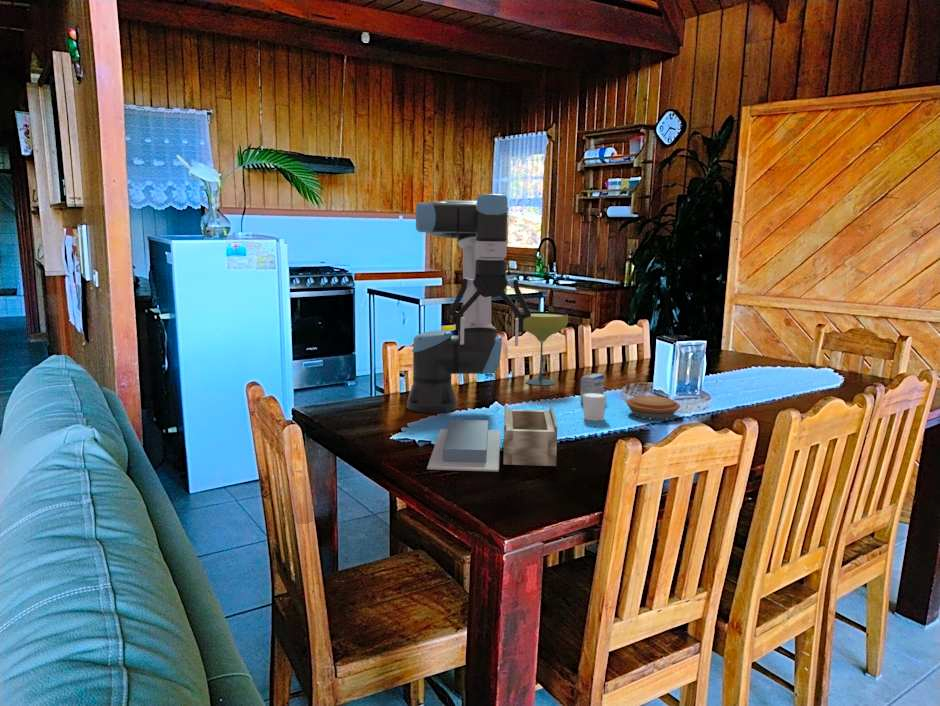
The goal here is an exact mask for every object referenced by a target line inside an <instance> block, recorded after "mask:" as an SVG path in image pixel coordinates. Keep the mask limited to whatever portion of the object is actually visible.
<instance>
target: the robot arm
mask: <svg viewBox="0 0 940 706" xmlns="http://www.w3.org/2000/svg"><path fill="white" fill-rule="evenodd" d="M508 212H509V206H508V197H507V194H506V195H505V194H499V193H482V194H479V195H478V196H477V198H476V200H463V199H461V200H458V199H457V200H456V199H454V200H452V199H445V200H438V201H434V202H432V201H426V202H417V204H416V205H415V231H417V232H419V233H427V234H429V235H430V236H435V237H438V238H443V239H444V238H445V239H457V245H458V246H459V247H460V249H462V282H461V283H462V284H461V288H460V289H459V292H458V293H457V295H456V297H455V299H454V301H453V304H452V305H451V307H450V309H449V311H448V315H450V316H452V317H454V319H455V329H456V332H457V331H458V335H457V334H456V335H453V333H452V331H451V330H448V329H447V330H446V329H445V330H444V329H442V330H441V329H440V330H433V331H432V330H431V331H426V332H422V333H419V334H416V336H414V338H413V343H412V346H413V347H412V350H411V351H412V353H413V359H412V361H413V362H412V364H413V365H412V366H413V367H412V385H411V388H410V392H409V394H408V396H407V397H408V398H407V401H406V402H407V403H406V404H407V405H406V406H407V407H406V408H407V409H408V410H409V411H412V412H416V413H423V414H442V413H441V412H443V413H448V411H449V412H452V411H455V410H456V409H457V407H458V404H457V403H458V401H457V397H456V396H457V395H456V393H455V391H454V387H453V384H452V375H455V374H456V375H458V374H459V375H465V374H466V375H471V374H473V375H475V374H476V375H477V374H480V375H484V374H485V375H486V374H494V373H496V372H497V371H498V368H499V365H500V361H501V356H502V355H501V354H502V347H503V346H502V345H503V338H502V335H500V334H497V328H496V327H495V326H494V325H493V323H492V298H497V297H498V298H499V297H501V299H502V300H503V301H504V302H505V303H506V305H507V306H508V307H509V309H511V311H512V312H513V313H514V315H515V316H516V318H515V328H514V333H515V334H514V347H518V346H519V333H523V332H524V329H523V320H524V319H525V318H527V317H530V316H531V313H530V312H531V309H529V306H528V304H527V302H526V299H525V298H524V295H523V294H522V292H521V289H520V285H519V280H518V279H517V278H514V279H507V261H506V260H505V258H506V257H507V248H508V246H507V245H508V241H507V240H508V239H507V237H508V236H507V235H508V234H507V233H508V232H507V231H508ZM507 286H509V287H510V288H511V289H513V291H514V293H515V295H516V297H517V299H518V301H519V304H520V306H521V308H522V310H523V312H525V313H521V310H520V309H519V308H518V306H517V305H516V303H514V302H513V301H512V299H511V298H510V297H509V295H508V294H507V292H506V291H505V289H506V288H507ZM462 300H463V301H462ZM461 301H462V305H463V306H462V307H461V308H460V309H459V311H456V310H457V308H458V307H459V305H460V302H461ZM517 317H518V318H519V319H517Z"/></svg>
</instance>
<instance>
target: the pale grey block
mask: <svg viewBox="0 0 940 706" xmlns="http://www.w3.org/2000/svg"><path fill="white" fill-rule="evenodd" d="M447 429H448V431H447V435H446V438H445V442H444V446H443V462H480V463H486V456H487V441H488V430H489V420H483V419H481V420H480V419H479V420H478V419H450V421H449V425H448V428H447Z"/></svg>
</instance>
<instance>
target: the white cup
mask: <svg viewBox="0 0 940 706" xmlns="http://www.w3.org/2000/svg"><path fill="white" fill-rule="evenodd" d="M607 399H608V397H607V395H606V394H605V393H604V394H601V393H585V394H583V403H582V404H583V407H582V409H583V419H584V420H587V421H590V420H593V421H592V422H599V421H598V420H601V421H604V419H605V414H606V413H605V412H606V406H607V405H606V404H607Z"/></svg>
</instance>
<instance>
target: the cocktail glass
mask: <svg viewBox="0 0 940 706" xmlns="http://www.w3.org/2000/svg"><path fill="white" fill-rule="evenodd" d="M520 312H521V311H520ZM521 313H525V312H524V311H523V312H521ZM530 313H531V316H530V317H527V318H525V319H524V320H523V331H525V332H528V333H529V334H531V335H532V336H534V337H535V339H537V341H538V342H539V343H540V360H539V361H540V363H539V372H538V373H539V374H538V377H537V378H532V379H528V381H527V380H526V381H527V382H528V384H527V385H529V384H531V385H530V386H535V385H536V386H537V387H548V386H554V385H556V381H555V380H551V379H545V378H544V376H543V344H544V342H546V341H547V340H548V338H549V337H550V336H552V335H554V334H556V333H558V332H561V331H562V330H564V329H565V328H566V327H567V325H568V324H569V316H568V314H567V313H563V312H555V311H530ZM516 319H519V318H518V317H517V316H516Z"/></svg>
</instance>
